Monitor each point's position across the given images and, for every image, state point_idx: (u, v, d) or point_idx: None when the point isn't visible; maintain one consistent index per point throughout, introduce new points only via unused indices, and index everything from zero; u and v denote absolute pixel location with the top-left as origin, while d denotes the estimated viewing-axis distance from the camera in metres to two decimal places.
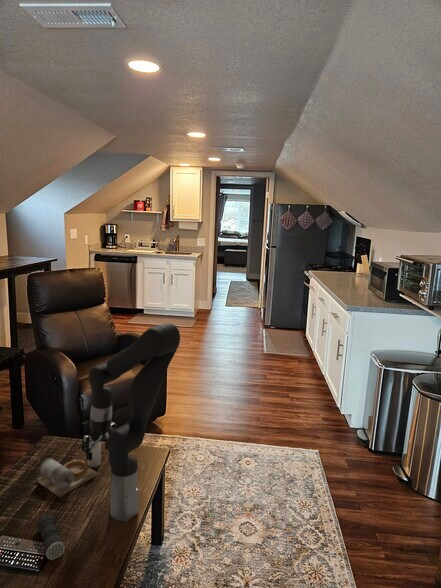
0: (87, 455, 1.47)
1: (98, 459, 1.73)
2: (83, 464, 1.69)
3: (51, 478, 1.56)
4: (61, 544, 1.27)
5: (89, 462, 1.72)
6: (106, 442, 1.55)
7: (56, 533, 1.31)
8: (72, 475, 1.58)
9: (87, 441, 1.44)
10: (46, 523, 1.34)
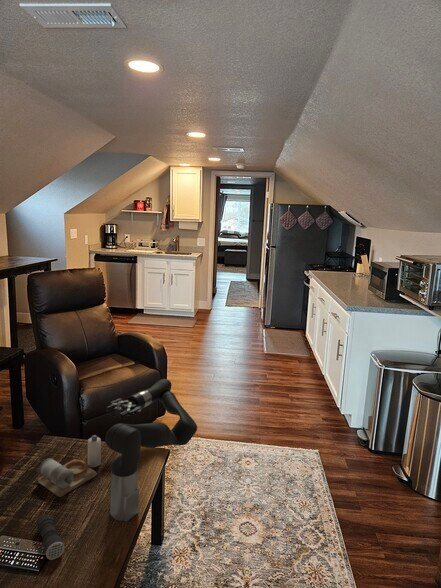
0: (125, 415, 1.79)
1: (98, 459, 1.73)
2: (83, 464, 1.69)
3: (51, 478, 1.56)
4: (61, 544, 1.27)
5: (89, 462, 1.72)
6: (112, 406, 1.84)
7: (56, 533, 1.31)
8: (72, 475, 1.58)
9: None
10: (46, 524, 1.34)
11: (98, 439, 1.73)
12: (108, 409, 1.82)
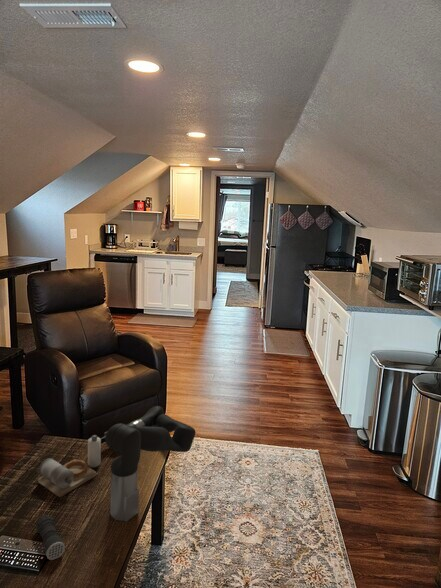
0: None
1: (98, 459, 1.73)
2: (83, 464, 1.69)
3: (51, 478, 1.56)
4: (61, 544, 1.27)
5: (89, 462, 1.72)
6: None
7: (56, 533, 1.31)
8: (72, 475, 1.58)
9: None
10: (46, 524, 1.34)
11: (98, 439, 1.73)
12: (102, 441, 1.82)
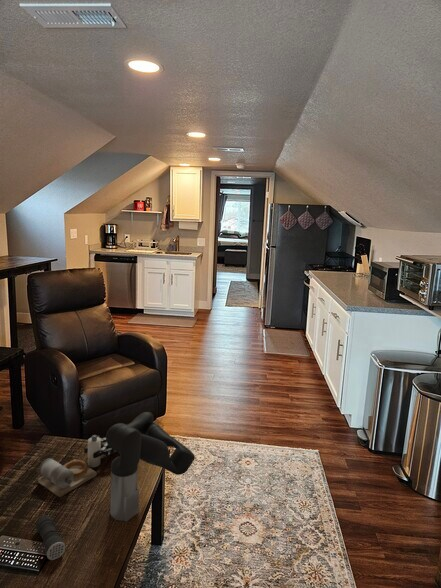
0: (99, 454, 1.71)
1: (98, 459, 1.73)
2: (83, 464, 1.69)
3: (51, 478, 1.56)
4: (62, 544, 1.27)
5: (89, 462, 1.72)
6: None
7: (56, 533, 1.31)
8: (72, 475, 1.58)
9: None
10: (46, 524, 1.34)
11: (98, 439, 1.73)
12: (86, 450, 1.73)
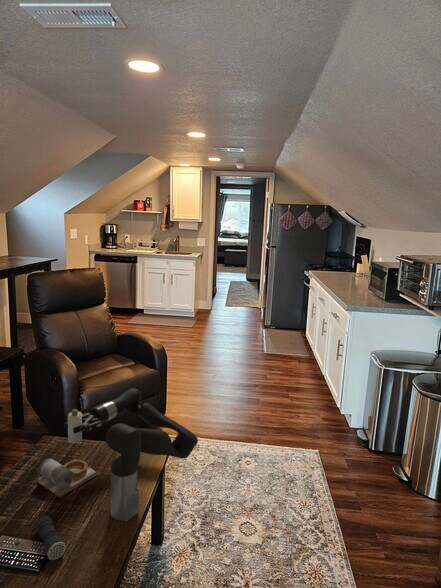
0: (80, 430, 1.61)
1: (79, 435, 1.62)
2: (83, 464, 1.69)
3: (51, 478, 1.56)
4: (62, 544, 1.27)
5: (69, 438, 1.62)
6: None
7: (56, 533, 1.31)
8: (72, 475, 1.58)
9: None
10: (45, 524, 1.34)
11: (79, 413, 1.63)
12: (66, 425, 1.63)
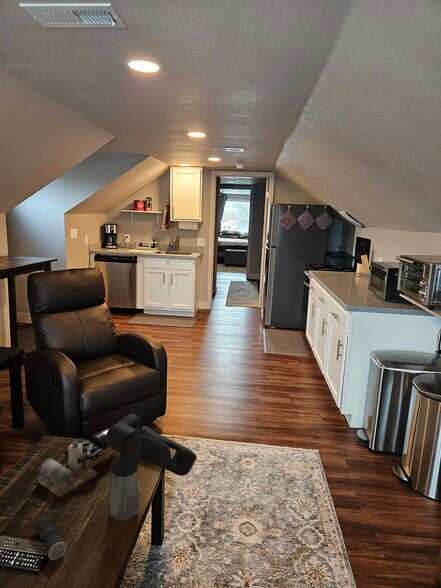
0: (84, 459, 1.63)
1: (79, 466, 1.65)
2: (83, 464, 1.69)
3: (51, 478, 1.56)
4: (63, 544, 1.27)
5: (70, 469, 1.64)
6: None
7: (56, 534, 1.31)
8: (72, 475, 1.58)
9: None
10: (45, 525, 1.34)
11: (79, 445, 1.65)
12: (66, 452, 1.66)
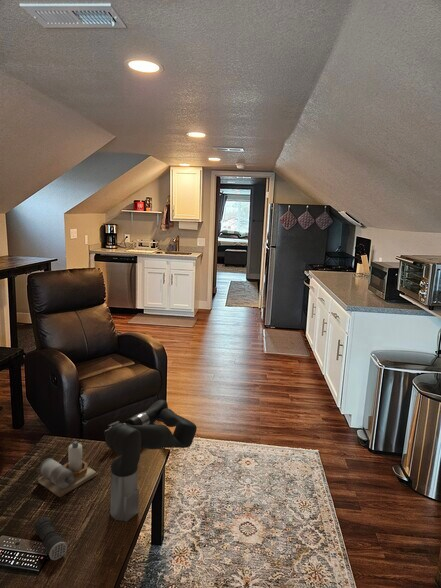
0: None
1: (79, 466, 1.65)
2: (83, 464, 1.69)
3: (51, 478, 1.56)
4: (64, 544, 1.27)
5: (70, 469, 1.64)
6: None
7: (56, 534, 1.31)
8: (72, 475, 1.58)
9: None
10: (45, 525, 1.34)
11: (79, 445, 1.65)
12: (106, 433, 1.84)
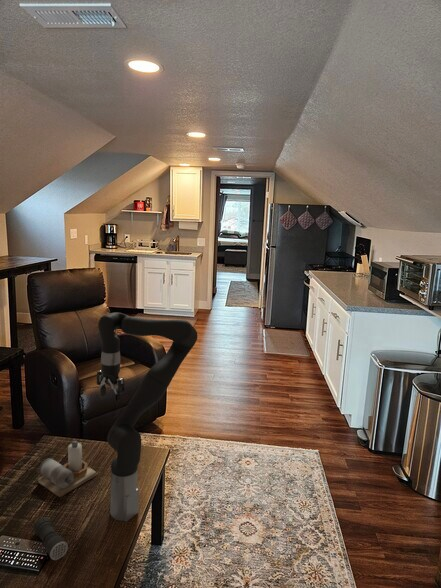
0: (119, 396, 1.66)
1: (79, 466, 1.65)
2: (83, 464, 1.69)
3: (51, 478, 1.56)
4: (64, 544, 1.27)
5: (70, 469, 1.64)
6: (103, 389, 1.71)
7: (57, 534, 1.31)
8: (72, 475, 1.58)
9: None
10: (44, 526, 1.33)
11: (79, 445, 1.66)
12: (103, 394, 1.71)
